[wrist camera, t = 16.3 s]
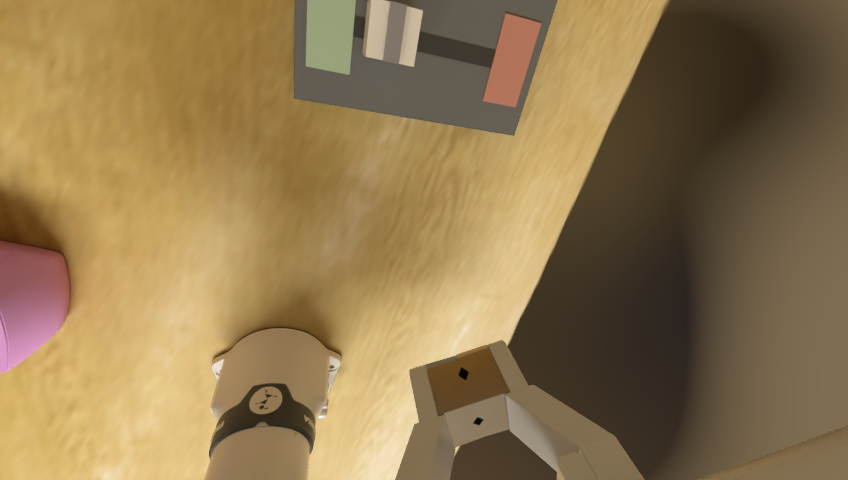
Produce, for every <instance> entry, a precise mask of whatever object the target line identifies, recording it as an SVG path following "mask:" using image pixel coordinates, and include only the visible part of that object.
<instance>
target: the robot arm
mask: <svg viewBox="0 0 848 480" xmlns="http://www.w3.org/2000/svg"><path fill="white" fill-rule="evenodd" d="M340 364H341V356H340V355H339V354H337V353H335V352H333V351H331V350H328V349H327V348H326V347H324V345H323V344H322V343H321V342H320V341H319V340H317V339H316V338H315V337H313V336H311V335H310V334H307V333H305V332H302V331H299V330H294V329H287V328H273V329H266V330H261V331H258V332H255V333H252V334H250V335H248V336H246V337H244V338H243V339H241V340H240V341H239V342H238V343H237V344H236V345H235V346H234V347H233V348H232V349H231V350H230V351H229V352H227V353H224V354H222V355H220V356H218V357H216V358H215V359H214V360H213V361H212V365H211V369H212V371H213V373H214V375H215V377H216V379H217V381H218V382H217V385H216V389H215V392H214V396H213V399H212V403H211V407H210V411H211V412H213V415H214V417H215V419H216V420H217V421H218V423H217V426H216V429H215V431H214V433H213V436H212V439H211V446H210V450H209V457H210V463H209V466H208V469H207V473H206V476H205V479H204V480H308V468H309V455H310V453H311V452H312V449H313V444H314V440H315V431H316V430H315V422H316V420H317V419H325V418H326V415H327V409H328V399H327V396H328V394H329V391H330V389H331V386H332V384H333V381H334V379H335V376H336V374H337V371H338V369H339V367H340ZM410 379H411V384H412V389H413V394H414V398H415V403H416V408H417V413H418V418H419V423H417V424H414V427H413V430H412V433H411V436H410V439H409V442H408V444H407V447H406V450H405V453H404V456H403V459H402V462H401V465H400V467H399V470H398V473H397V476H396V479H395V480H449V479H450V474H451V469H452V464H453V459H454V454H455V447H458V446H460V445H463V444H465V443H468V442H471V441H473V440H476V439H479V438H482V437H485V436H488V435H491V434H495V433H498V432H501V431H504V430H508V429H510V431H511V432H512V433H513V434H514V435H516V436H517V437H518V438H519V439H520V440H521V441H522V442H524V443H525V444H526V445H527V446H528V447H529V448H531V449H532V450H533V451H534V452H535V453H536V454H537V455H538V456H540V457H541V458H542V459H543V460H544V461H545V462H546V463H548V464H549V465H550V466H551V467H552V468H553V469H555V470H556V471H557V480H644V478H643V477H642V476H641V474H640V473H639V471H638V470H637V468H636V467H635V465H634V464H633V462H632V461H631V459H630V458H629V457H628V455H627V454H626V452H625V451H624V449H623V448H622V446H621V445H620V443H619V442H618V440H617V439H616V437H615V436H614V435H612V434H610V433H609V432H607V431H606V430H604V429H603V428H601V427H599V426H598V425H596V424H594V423H593V422H591V421H590V420H588V419H587V418H585V417H584V416H582V415H580V414H579V413H577V412H576V411H574V410H573V409H571V408H569V407H568V406H566V405H564V404H563V403H561V402H560V401H558V400H557V399H555V398H554V397H552V396H550V395H549V394H547V393H546V392H544V391H542V390H541V389H539V388H538V387H536V386H534V385H531V386H528V384H527V382H526V380H525V378H524V377H523V375H522V373H521V371H520V369H519V368H518V366H517V364H516V362H515V360H514V358H513V356H512V354H511V353H510V351H509V349H508V347H507V345H506V343H505V342H504V341H503V340H500V341H497V342H495V343H492V344H489V345H484V346H481V347H478V348H475V349H472V350H469V351H466V352H463V353H460V354H457V355H456V356H453V357H450V358H446V359H443V360H440V361H436V362H433V363H430V364H426V365H423V366H420V367H416V368H413V369H410ZM699 480H848V425H847V426H844V427H841V428H839V429H836V430H833V431H830V432H828V433H825V434H822V435H819V436H817V437H814V438H811V439H808V440H806V441H803V442H800V443H797V444H795V445H792V446H789V447H786V448H784V449H781V450H778V451H775V452H773V453H770V454H767V455H765V456H762V457H759V458H756V459H754V460H751V461H748V462H745V463H742V464H740V465H737V466H734V467H732V468H729V469H726V470H724V471H721V472H718V473H715V474H712V475H710V476H707V477H704V478H701V479H699Z"/></svg>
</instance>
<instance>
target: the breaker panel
mask: <svg viewBox="0 0 848 480" xmlns="http://www.w3.org/2000/svg"><path fill="white" fill-rule="evenodd" d="M368 1H369V0H295V49H294V98H295V99H301V100H307V101H312V102H318V103H324V104H330V105H336V106H342V107H348V108H354V109H360V110H366V111H371V112H377V113H383V114H389V115H395V116H401V117H407V118H413V119H419V120H425V121H430V122H436V123H442V124H448V125H454V126H460V127H466V128H472V129H478V130H484V131H490V132H495V133H501V134H507V135H513V136H514V134H515V131H516V128H517V125H518V122H519V119H520V116H521V112H522V109H523V106H524V103H525V100H526V97H527V94H528V91H529V87H530V84H531V81H532V78H533V75H534V72H535V69H536V66H537V62H538V59H539V56H540V53H541V50H542V47H543V44H544V41H545V37H546V34H547V31H548V28H549V25H550V22H551V19H552V16H553V13H554V9H555V6H556V3H557V0H385V1H389V2H390V1H394V2H398V3H402V4H405V5H407V6H408V7H412V8H416V9H420V10H423V14H422V20H421V26H420V32H419V38H418V44H417V51H416V57H415V63H414V67H411V66H407V65H402V64H395V63H391V62H386V61H383V60H378V59H374V58H369V57H365V56H364V55H363V54H362V51H363V40H364V30H365V19H366V9H367V2H368Z"/></svg>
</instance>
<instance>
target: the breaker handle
mask: <svg viewBox="0 0 848 480" xmlns="http://www.w3.org/2000/svg"><path fill="white" fill-rule="evenodd" d="M422 14H423V10H420V9H416V8H412V7H408V6H407V5H405V4H402V3H398V2H394V1H390V2H389V1H385V0H369V1H368V2H367V9H366V19H365V30H364V40H363V51H362V54H363V55H364V56H365V57H369V58H374V59H378V60H383V61H386V62H391V63H395V64H402V65H407V66H411V67H414V63H415V57H416V51H417V44H418V38H419V32H420V26H421V20H422Z"/></svg>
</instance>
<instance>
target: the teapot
mask: <svg viewBox="0 0 848 480" xmlns="http://www.w3.org/2000/svg"><path fill="white" fill-rule="evenodd" d="M69 301H70V282H69V276H68V271H67V266H66V262H65V259H64V257H63V256H62V254H61V253H59V252H56V251H52V250H48V249H43V248H38V247H33V246H28V245H23V244H18V243H12V242H7V241H1V240H0V373H4V372H7V371H9V370H10V369H12V368H13V367H15V366H16V365H17V364H19V363H20V362H22V361H23V360H24V359H26V358H27V357H28V356H30V355H31V354H32V353H34V352H35V351H36V350H37V349H39V348H40V347H41V346H42V345H44V344H45V343H46V342H47V341H48V340H49V339H50V338H51V337H53V336H54V335H55V334H56V333H57V332H58V331H59V330H60V328H61V327H62V325H63V323H64V322H65V320H66V317H67V314H68V310H69Z"/></svg>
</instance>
